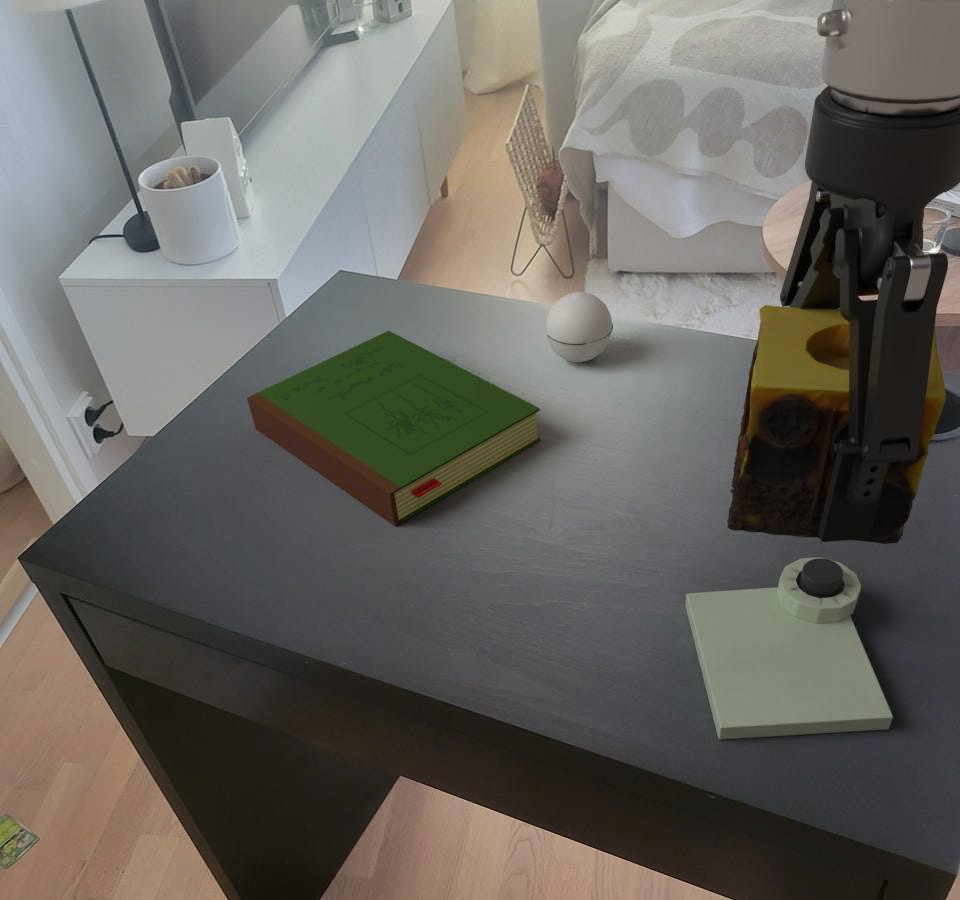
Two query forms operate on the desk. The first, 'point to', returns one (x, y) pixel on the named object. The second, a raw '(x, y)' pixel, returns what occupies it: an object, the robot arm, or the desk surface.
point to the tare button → (821, 578)
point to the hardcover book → (394, 424)
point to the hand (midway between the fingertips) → (816, 477)
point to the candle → (810, 429)
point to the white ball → (579, 327)
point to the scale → (785, 660)
